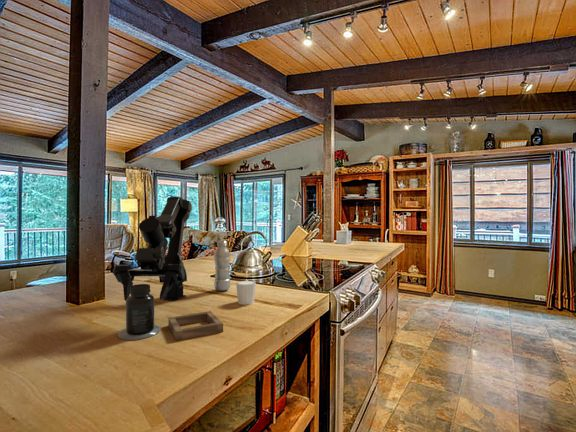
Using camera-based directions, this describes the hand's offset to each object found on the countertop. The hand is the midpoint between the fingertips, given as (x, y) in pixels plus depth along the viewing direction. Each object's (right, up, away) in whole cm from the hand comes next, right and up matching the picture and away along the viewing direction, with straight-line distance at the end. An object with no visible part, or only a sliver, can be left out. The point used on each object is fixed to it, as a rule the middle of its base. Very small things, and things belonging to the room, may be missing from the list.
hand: (143, 299), depth 86 cm
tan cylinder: (+25, -8, +25) cm, 36 cm away
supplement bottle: (0, -8, -2) cm, 8 cm away
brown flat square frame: (+14, -8, 0) cm, 16 cm away
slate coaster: (0, -8, -2) cm, 8 cm away
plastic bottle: (+13, -7, +42) cm, 44 cm away
